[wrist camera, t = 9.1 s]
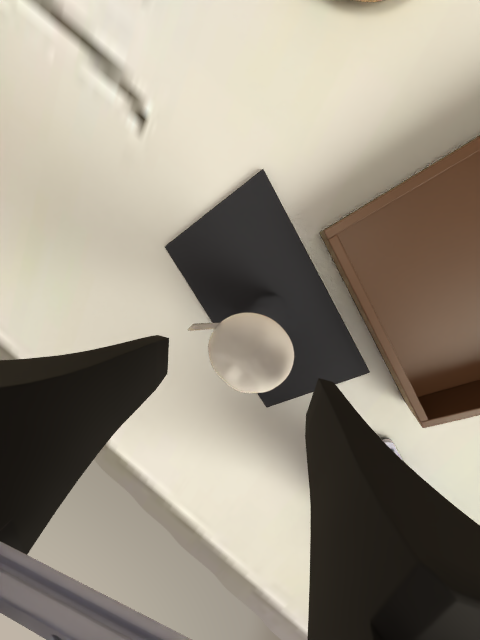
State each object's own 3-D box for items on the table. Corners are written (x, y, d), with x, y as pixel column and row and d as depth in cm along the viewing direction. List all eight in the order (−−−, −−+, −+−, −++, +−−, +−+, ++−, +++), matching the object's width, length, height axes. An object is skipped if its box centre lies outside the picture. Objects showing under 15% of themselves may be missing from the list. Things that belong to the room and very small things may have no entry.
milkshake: (260, 266, 18) (223, 290, 9) (307, 312, 18) (316, 382, 9) (225, 304, 20) (162, 356, 11) (267, 345, 20) (243, 432, 11)
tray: (628, 341, 14) (703, 363, 12) (405, 402, 19) (422, 428, 17) (555, 89, 12) (629, 45, 9) (319, 232, 17) (323, 230, 14)
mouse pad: (368, 370, 19) (370, 372, 19) (267, 405, 23) (266, 407, 22) (263, 170, 16) (262, 168, 16) (166, 246, 20) (164, 246, 20)
